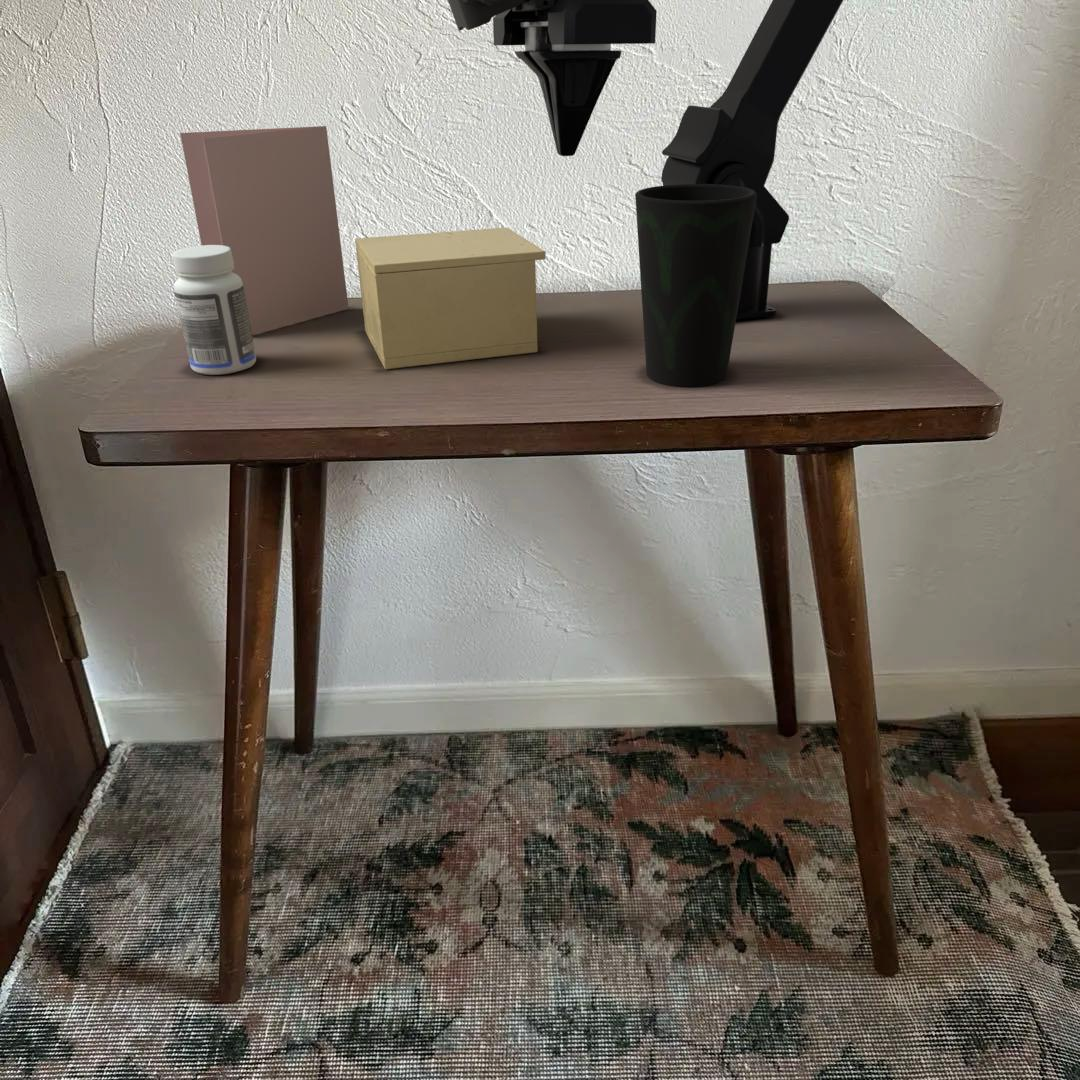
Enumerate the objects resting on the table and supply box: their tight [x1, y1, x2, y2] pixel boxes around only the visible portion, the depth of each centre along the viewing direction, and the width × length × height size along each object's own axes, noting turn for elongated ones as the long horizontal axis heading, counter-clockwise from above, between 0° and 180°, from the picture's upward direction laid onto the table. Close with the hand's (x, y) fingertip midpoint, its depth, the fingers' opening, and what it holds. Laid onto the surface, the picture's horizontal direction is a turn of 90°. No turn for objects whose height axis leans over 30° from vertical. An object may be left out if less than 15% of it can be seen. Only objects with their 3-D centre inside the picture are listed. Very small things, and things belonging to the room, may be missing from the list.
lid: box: [354, 226, 547, 274], centre depth 70 cm, size 12×11×1 cm
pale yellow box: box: [355, 246, 539, 370], centre depth 72 cm, size 12×11×7 cm
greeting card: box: [179, 125, 350, 336], centre depth 77 cm, size 11×7×15 cm, turn 105°
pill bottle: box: [171, 245, 257, 376], centre depth 68 cm, size 5×5×8 cm
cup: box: [634, 184, 757, 388], centre depth 62 cm, size 8×8×12 cm
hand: (566, 155), depth 70 cm, fingers closed
